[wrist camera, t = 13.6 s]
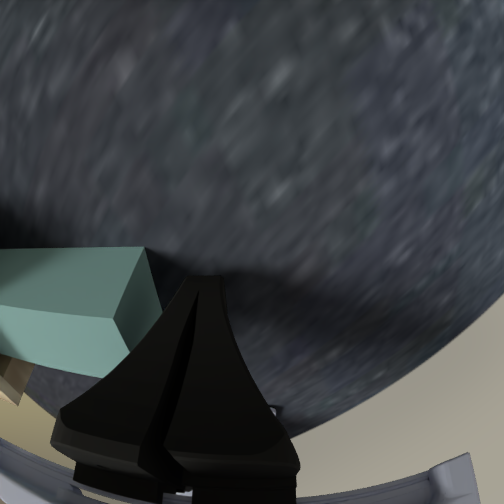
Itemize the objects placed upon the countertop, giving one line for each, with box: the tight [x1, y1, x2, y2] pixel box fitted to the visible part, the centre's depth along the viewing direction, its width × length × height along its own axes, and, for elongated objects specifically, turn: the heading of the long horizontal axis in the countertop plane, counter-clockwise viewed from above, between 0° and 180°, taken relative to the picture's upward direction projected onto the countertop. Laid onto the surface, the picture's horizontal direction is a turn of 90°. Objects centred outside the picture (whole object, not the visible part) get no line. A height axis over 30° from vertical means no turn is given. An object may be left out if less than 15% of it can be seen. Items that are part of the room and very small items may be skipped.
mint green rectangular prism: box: [0, 247, 163, 378], centre depth 11 cm, size 4×12×4 cm, turn 91°
